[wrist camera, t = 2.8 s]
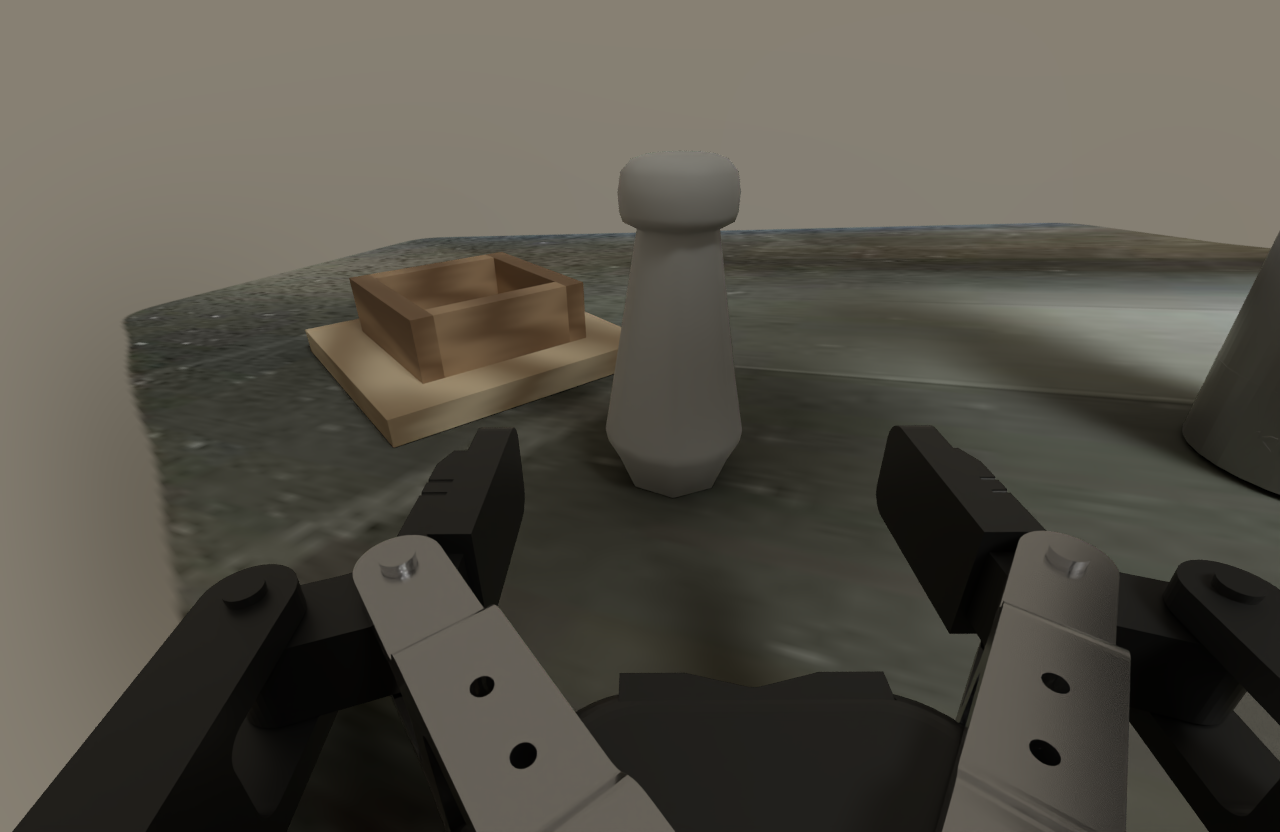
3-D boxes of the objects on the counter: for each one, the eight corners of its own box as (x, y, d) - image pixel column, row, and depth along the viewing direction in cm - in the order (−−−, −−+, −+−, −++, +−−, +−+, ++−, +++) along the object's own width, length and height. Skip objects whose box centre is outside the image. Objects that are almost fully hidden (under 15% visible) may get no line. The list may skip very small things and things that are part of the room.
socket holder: (523, 302, 48) (517, 240, 46) (649, 361, 37) (649, 283, 35) (311, 351, 39) (289, 276, 37) (393, 447, 28) (369, 350, 26)
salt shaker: (580, 473, 26) (558, 154, 20) (662, 425, 30) (665, 144, 24) (685, 528, 23) (697, 164, 16) (763, 466, 26) (796, 150, 20)
